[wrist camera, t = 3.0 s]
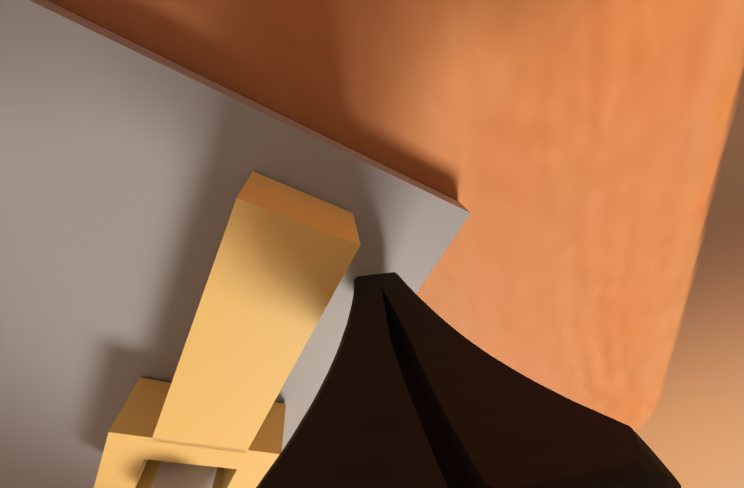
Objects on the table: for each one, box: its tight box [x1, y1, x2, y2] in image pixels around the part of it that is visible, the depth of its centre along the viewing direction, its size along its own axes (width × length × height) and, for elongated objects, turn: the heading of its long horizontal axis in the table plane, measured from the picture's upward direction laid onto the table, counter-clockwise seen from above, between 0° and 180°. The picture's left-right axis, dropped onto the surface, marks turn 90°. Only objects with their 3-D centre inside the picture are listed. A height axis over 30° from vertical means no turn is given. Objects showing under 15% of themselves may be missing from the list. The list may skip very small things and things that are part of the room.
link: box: [94, 171, 360, 488], centre depth 11 cm, size 14×5×2 cm, turn 152°
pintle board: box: [0, 0, 470, 488], centre depth 10 cm, size 20×17×6 cm
